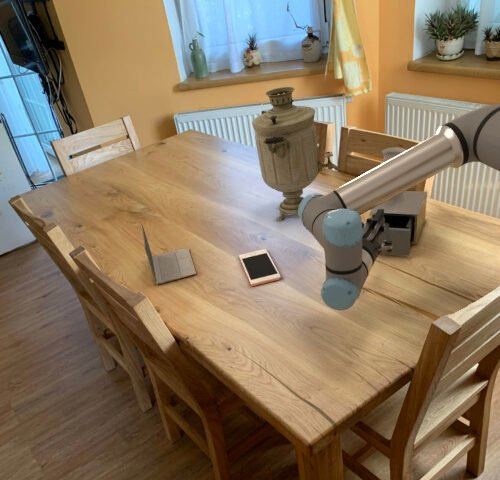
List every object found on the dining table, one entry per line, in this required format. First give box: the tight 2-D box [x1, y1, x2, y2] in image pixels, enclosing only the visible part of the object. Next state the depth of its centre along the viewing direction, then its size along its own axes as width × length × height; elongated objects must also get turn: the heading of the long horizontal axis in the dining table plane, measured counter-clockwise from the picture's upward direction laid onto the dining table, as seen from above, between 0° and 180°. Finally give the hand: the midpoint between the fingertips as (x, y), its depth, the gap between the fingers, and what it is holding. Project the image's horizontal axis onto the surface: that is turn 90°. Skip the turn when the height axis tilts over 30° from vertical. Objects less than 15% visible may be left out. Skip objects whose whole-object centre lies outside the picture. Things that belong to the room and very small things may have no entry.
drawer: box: [370, 215, 415, 257], centre depth 144 cm, size 16×12×8 cm
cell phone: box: [238, 248, 282, 287], centre depth 148 cm, size 9×18×1 cm, turn 12°
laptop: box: [140, 222, 197, 285], centre depth 153 cm, size 18×12×13 cm
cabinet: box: [369, 190, 428, 246], centre depth 151 cm, size 16×14×10 cm
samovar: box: [251, 86, 340, 222], centre depth 161 cm, size 30×26×40 cm
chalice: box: [381, 146, 406, 163], centre depth 163 cm, size 7×7×18 cm
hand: (380, 214), depth 128 cm, fingers closed
